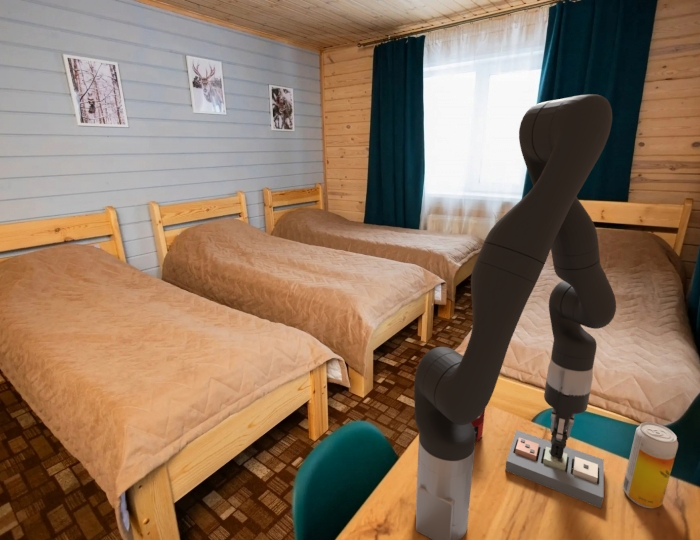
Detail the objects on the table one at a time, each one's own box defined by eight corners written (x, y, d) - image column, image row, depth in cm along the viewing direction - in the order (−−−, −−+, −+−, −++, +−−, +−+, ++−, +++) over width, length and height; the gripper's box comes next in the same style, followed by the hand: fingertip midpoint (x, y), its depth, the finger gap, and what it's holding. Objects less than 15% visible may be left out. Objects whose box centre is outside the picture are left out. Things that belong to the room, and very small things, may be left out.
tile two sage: (563, 477, 77) (565, 465, 76) (542, 469, 79) (543, 457, 78) (565, 464, 80) (567, 453, 79) (544, 457, 82) (546, 445, 81)
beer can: (668, 513, 70) (687, 445, 66) (631, 508, 71) (647, 441, 67) (650, 486, 75) (667, 422, 71) (616, 481, 77) (630, 418, 72)
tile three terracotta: (534, 466, 80) (536, 455, 79) (514, 459, 82) (515, 447, 81) (537, 454, 83) (539, 443, 82) (517, 447, 85) (519, 436, 84)
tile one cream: (595, 489, 74) (597, 477, 73) (571, 480, 76) (574, 468, 75) (595, 475, 77) (598, 463, 76) (573, 467, 79) (575, 455, 79)
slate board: (601, 508, 71) (603, 497, 70) (505, 470, 80) (506, 460, 79) (601, 469, 80) (603, 459, 79) (515, 438, 89) (516, 429, 88)
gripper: (550, 362, 81) (540, 430, 86) (542, 393, 71) (531, 469, 76) (591, 372, 77) (578, 442, 82) (589, 406, 67) (575, 485, 72)
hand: (556, 455), depth 79 cm, fingers closed
